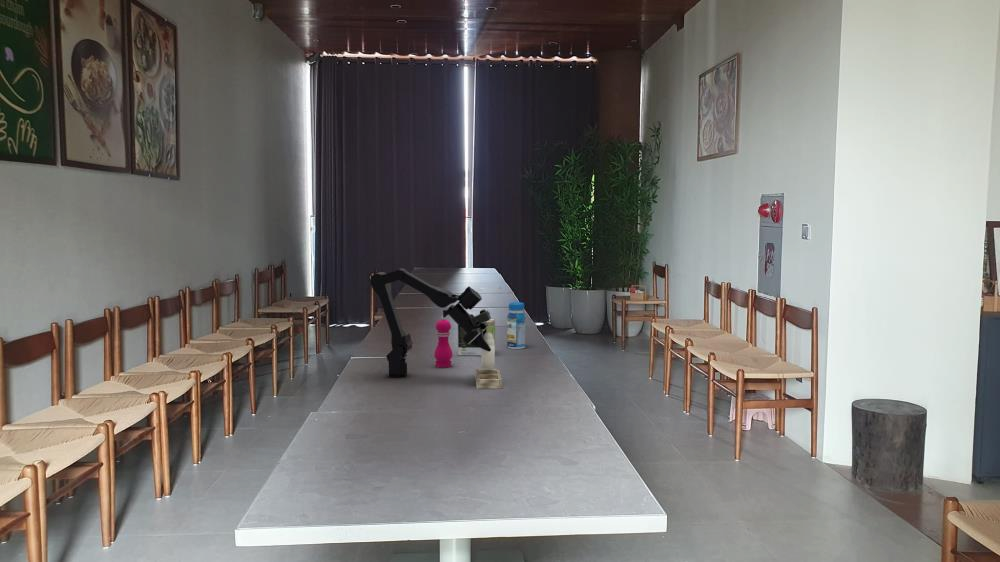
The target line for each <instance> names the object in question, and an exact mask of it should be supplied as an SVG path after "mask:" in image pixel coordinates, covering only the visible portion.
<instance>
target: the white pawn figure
mask: <svg viewBox="0 0 1000 562" xmlns="http://www.w3.org/2000/svg"><path fill="white" fill-rule="evenodd" d="M483 337H484V340H485V341H486V342H487V344H488V345H489V347H490V348H491V351H490V352H488V351H486V350H484V349H482V348H481V356H480V357H481V361H480V364H481V365H480V366H481V368H482V369H493V368H494V369H495V359H496V358H495V355H496V354H495V351H496V340H495V341H494V339H493V335H492V334H491V333H490V332H486V333H485V334H484V336H483Z"/></svg>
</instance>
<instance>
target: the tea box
mask: <svg viewBox="0 0 1000 562" xmlns="http://www.w3.org/2000/svg"><path fill="white" fill-rule="evenodd" d="M495 319H496V318H491V319H490V320H488V321H486V323H487V324H488V326H487V327H486V328H488V329H487V332H490V333H491V334H492V335H493V339H494V341H495V342H496V320H495ZM486 328H485V329H486ZM485 329H484V330H485ZM465 334H466V333H465V332H464V331H463V330H462V329H461V328H458V327H457V341H458V342H457V351H458V353H457V354H458V356H480V357H481V348H479V347H477V346H474V345H472V344H470V343H471V342H472V340H471V341H470V342H469V343H468V344H467V345H466V344H465V343H464V341H463V337H464V336H465Z"/></svg>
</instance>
